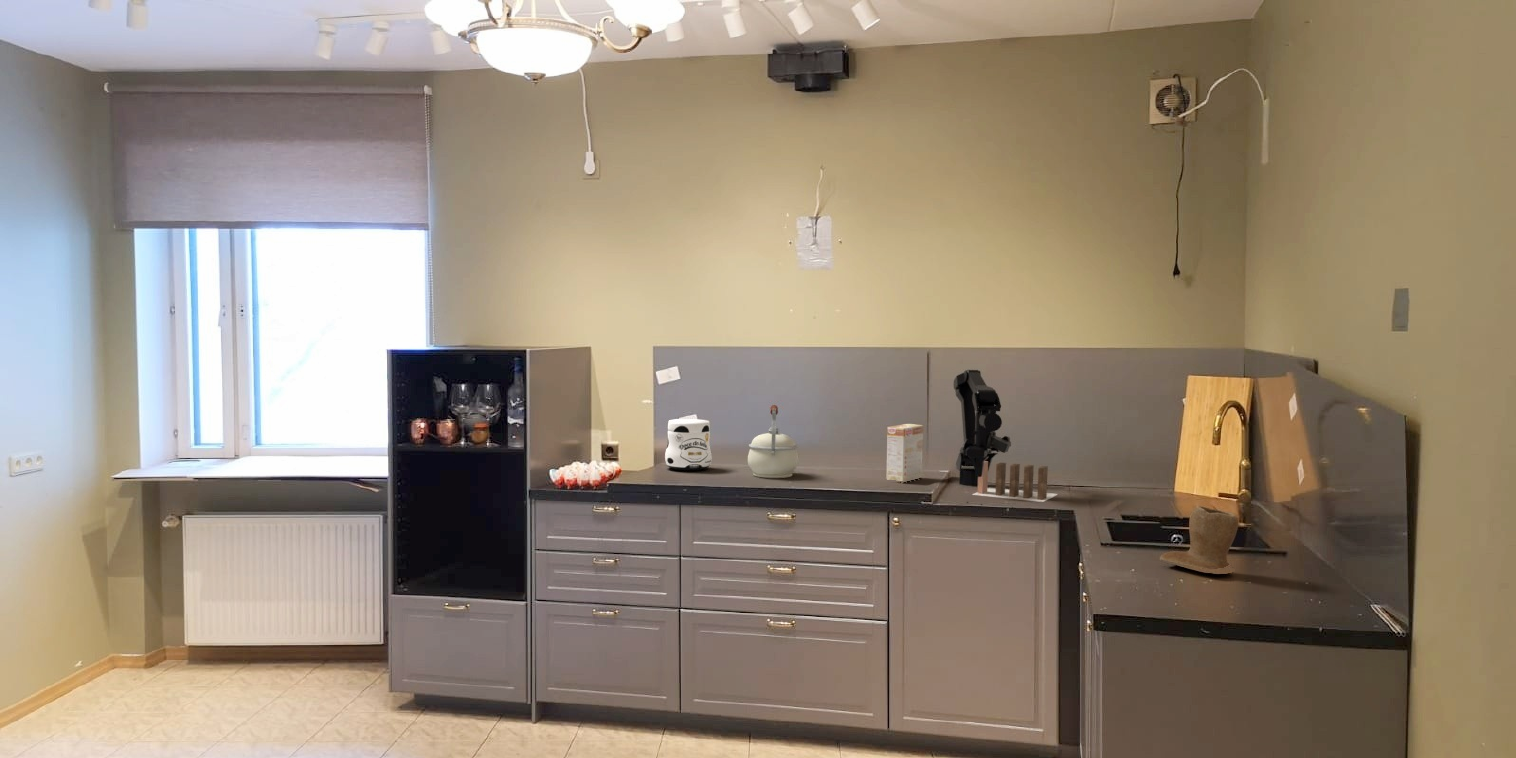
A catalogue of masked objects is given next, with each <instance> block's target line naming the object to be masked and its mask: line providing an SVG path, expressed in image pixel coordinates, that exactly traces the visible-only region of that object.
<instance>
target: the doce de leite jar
mask: <svg viewBox="0 0 1516 758" xmlns="http://www.w3.org/2000/svg"><path fill="white" fill-rule="evenodd" d="M710 430H711V424H710V420H707V419H698V418H697V419H695V418H694V419H693V418H678V419H670V420H668V423H667V447H666V449H665V454H664V459H665V465H666V466H667V467H668V468H670V469H673V470H676V471H677V470H679V471H699V470H705V469H707V468H709V467H710V466H711V464H712V459H713V453H712V449H711V444H710V437H711V432H710Z"/></svg>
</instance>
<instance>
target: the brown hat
mask: <svg viewBox="0 0 1516 758" xmlns="http://www.w3.org/2000/svg"><path fill="white" fill-rule="evenodd" d="M1188 524H1189V525H1188V526H1189V527H1188V529H1189V530H1188V531H1189V539H1190V540H1189V541H1190V542H1189V543H1190V546H1189V550H1187V551H1177V550H1173V551H1172V550H1171V551H1168V552H1165V553H1163V554H1161V555H1160V557H1159V561H1161V560H1164V561H1168V562H1173V563H1177V564H1184V565H1190V566H1194V567H1199V568H1207V569H1218V568H1224V567H1226V566H1228V565H1229V564H1230V563H1229V562H1228V560H1227V559H1228V553H1229V550H1230V549H1231V547H1232V544H1233V542H1234V540H1235V538H1236V535H1237V531H1238V528H1239V518H1238V516H1237V515H1236V514H1234V513H1232V512H1227V511H1225V510H1219V509H1215V508H1210V507H1206V506H1201V505H1196V506H1195V507H1193V509H1192V510H1191V513H1190V516H1189V523H1188Z"/></svg>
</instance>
